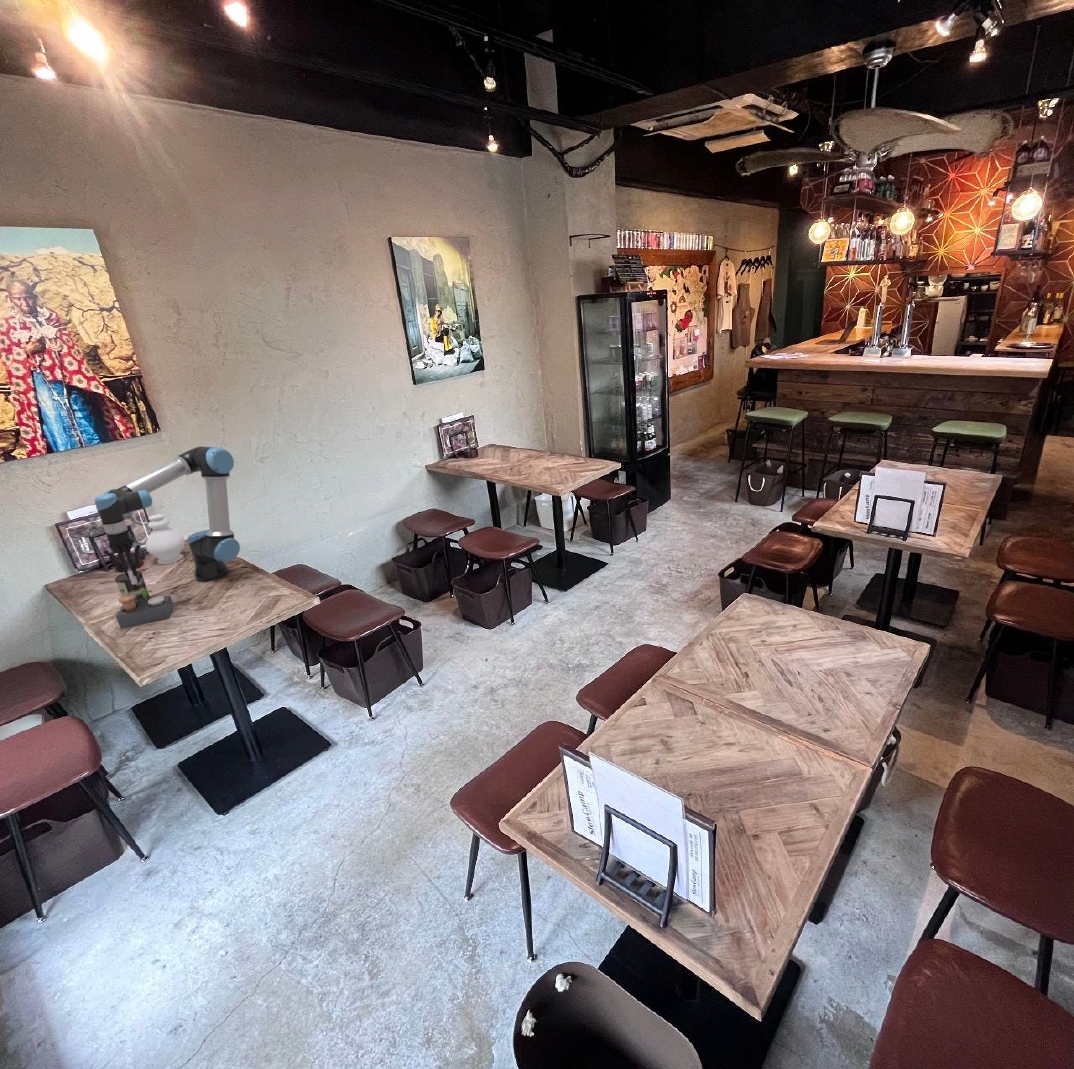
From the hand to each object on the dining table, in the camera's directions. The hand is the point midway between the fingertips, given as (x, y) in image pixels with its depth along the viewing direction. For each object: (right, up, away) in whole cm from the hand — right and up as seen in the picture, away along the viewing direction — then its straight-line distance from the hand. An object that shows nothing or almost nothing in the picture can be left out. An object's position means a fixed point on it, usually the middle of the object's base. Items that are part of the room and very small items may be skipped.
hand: (134, 583), depth 245 cm
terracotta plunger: (-4, -12, +4) cm, 13 cm away
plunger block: (+1, -15, +7) cm, 17 cm away
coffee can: (-13, -11, +21) cm, 27 cm away
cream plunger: (+6, -14, +8) cm, 17 cm away
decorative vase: (-29, +7, +69) cm, 75 cm away
